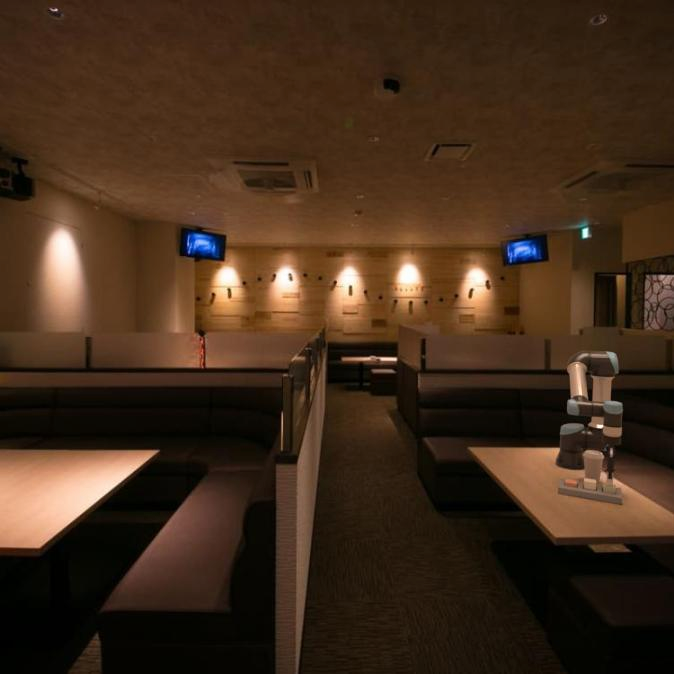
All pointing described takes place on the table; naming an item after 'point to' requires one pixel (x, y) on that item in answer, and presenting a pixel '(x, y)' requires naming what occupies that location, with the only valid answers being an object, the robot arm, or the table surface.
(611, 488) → the sage key
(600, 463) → the coffee cup
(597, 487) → the keypad board
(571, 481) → the terracotta key
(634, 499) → the table surface
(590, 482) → the ivory key
